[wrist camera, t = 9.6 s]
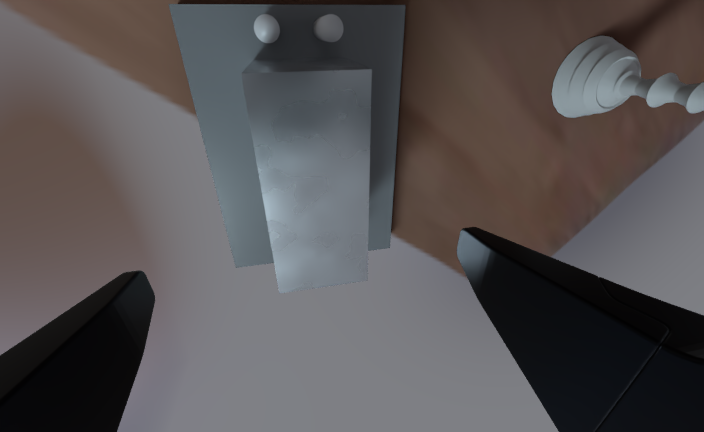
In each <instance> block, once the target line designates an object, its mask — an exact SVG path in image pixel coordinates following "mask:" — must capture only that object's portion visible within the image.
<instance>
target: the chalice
mask: <svg viewBox="0 0 704 432" xmlns="http://www.w3.org/2000/svg"><path fill="white" fill-rule="evenodd" d="M640 76H641V66H640V63H639V60H638V58H637V55H636V54H635V53H634V52H632V51H631V50H628V49H627V48H626V47H624V46H623V45H622V44H619V43H618V42H617V41H616V40H614V39H613V38H612V37H608V36H602V35H601V36H597V37H593V38H590V39H588V40H586V41H584V42H583V43H581V44H579V45H578V46H577V47H576V48H575V49H574V50H573V51H572V52H571V53H570V54H569V55H568V56H567V57H566V59H565V60H564V62H563V63H562V64H561V66H560V67H559V69H558V72H557V74H556V77H555V79H554V82H553V89H552V99H553V105H554V106H555V108H556V110H557V111H558V113H560V114H562V115H563V116H565V117H572V118H576V117H580V116H583V115H591V114H595V113H603V112H607V111H609V110H611V109H613V108H615V107H617V106H619V105H620V104H622V103H623V102H624V101H626V100H627V99H628V98H629V97H630V95H638V96H640V97H643V98H645V99H646V101H647V103H648V105H649V106H650V107H658V106H661V105H663V104H665V103H669V102H677V103H679V104H681V105H683V106H685V108H686V109H687V111H688V112H690V113H697V112H701V111H704V82H702V83H698V84H689V85H686V84H684V83H682V82H680V81H679V79H678V76H677V75H676V74H675V73H668V74H665V75H663V76H661V77H659V78H658V79H647V80H646V79H644V78H641V77H640Z"/></svg>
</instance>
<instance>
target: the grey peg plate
mask: <svg viewBox="0 0 704 432" xmlns="http://www.w3.org/2000/svg"><path fill="white" fill-rule="evenodd" d="M169 8H170V12H171V16H172V20H173V23H174V27H175V31H176V35H177V39H178V43H179V47H180V51H181V55H182V59H183V63H184V67H185V70H186V74H187V78H188V82H189V86H190V90H191V94H192V98H193V102H194V106H195V110H196V114H197V117H198V121H199V125H200V129H201V133H202V137H203V141H204V145H205V149H206V152H207V157H208V161H209V164H210V168H211V172H212V176H213V180H214V184H215V188H216V192H217V196H218V200H219V203H220V207H221V212H222V215H223V219H224V223H225V227H226V231H227V235H228V239H229V243H230V247H231V251H232V255H233V258H234V262H235V266H236V268H237V267H244V266H253V265H260V264H268V263H274V260H273V254H272V249H271V243H270V237H269V231H268V225H267V220H266V214H265V208H264V202H263V197H262V191H261V185H260V179H259V174H258V168H257V162H256V157H255V151H254V145H253V139H252V134H251V128H250V122H249V116H248V111H247V105H246V99H245V94H244V88H243V82H242V76H241V73H242V72H243V71H244V70H245V69H246V68H247V67H248V65H249V64H250V63H251V62H252V61H253V60H271V59H311V58H345V59H348V60H350V61H352V62H355V63H357V64H360V65H362V66H365V67H367V68H370V69H372V82H371V131H370V180H369V229H368V251H369V250H377V249H385V248H390V238H391V223H392V207H393V192H394V176H395V161H396V146H397V130H398V115H399V100H400V84H401V69H402V54H403V38H404V23H405V8H406V5H276V4H169Z"/></svg>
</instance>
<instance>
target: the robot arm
mask: <svg viewBox="0 0 704 432" xmlns="http://www.w3.org/2000/svg"><path fill="white" fill-rule="evenodd" d="M457 256H458V259H459V261H460V263H461V265H462V267H463V269H464V271H465V274H466V276H467V278H468V280H469V282H470V284H471V286H472V288H473V290H474V292H475V294H476V296H477V298H478V300H479V302H480V303H481V305H482V307H483V309H484V310H485V312H486V313H487V315H488V317H489V318H490V320H491V322H492V323H493V325H494V326H495V328H496V330H497V331H498V333H499V335H500V336H501V338H502V339H503V341H504V343H505V344H506V346H507V348H508V349H509V351H510V352H511V354H512V356H513V357H514V359H515V361H516V362H517V364H518V366H519V367H520V369H521V370H522V372H523V374H524V375H525V377H526V379H527V380H528V382H529V384H530V385H531V387H532V388H533V390H534V392H535V393H536V395H537V397H538V398H539V400H540V401H541V403H542V405H543V406H544V408H545V410H546V411H547V413H548V414H549V416H550V418H551V419H552V421H553V423H554V424H555V426H556V428H557V429H558V431H559V432H704V315H701V314H698V313H695V312H692V311H689V310H686V309H684V308H681V307H678V306H675V305H672V304H669V303H667V302H664V301H661V300H658V299H656V298H653V297H650V296H647V295H644V294H642V293H639V292H637V291H634V290H631V289H629V288H626V287H624V286H621V285H619V284H616V283H613V282H611V281H609V280H606V279H604V278H601V277H599V278H598V276H596V275H594V274H591V273H588V272H586V271H584V270H581V269H579V268H576V267H574V266H571V265H569V264H566V263H563V262H561V261H559V260H556V259H554V258H551V257H549V256H546V255H544V254H541V253H539V252H537V251H534V250H532V249H529V248H527V247H524V246H522V245H519V244H517V243H514V242H512V241H509V240H507V239H504V238H502V237H499V236H497V235H494V234H492V233H489V232H487V231H484V230H482V229H479V228H477V227H469V228H463V229H462V230H461V232H460V236H459V242H458V247H457ZM154 303H155V295H154V292H153V290H152V288H151V285H150V283H149V281H148V279H147V277H146V275H145V273H144V272H143V271H131V272H126V273H123V274H121V275H119V276H118V277H117V278H115V279H114V280H112V281H111V282H109V283H108V284H106V285H105V286H103V287H102V288H100V289H99V290H97V291H96V292H94V293H93V294H91V295H90V296H88V297H87V298H85V299H84V300H82V301H81V302H79V303H78V304H76V305H75V306H73V307H72V308H70V309H69V310H68V311H66V312H64V313H63V314H61V315H60V316H58V317H57V318H56V319H54V320H52V321H51V322H49V323H48V324H47V325H45V326H44V327H42V328H41V329H39V330H38V331H36V332H35V333H33V334H32V335H30V336H29V337H27V338H26V339H24V340H23V341H21V342H20V343H18V344H17V345H15V346H14V347H12V348H11V349H9V350H8V351H6V352H5V353H3V354H2V355H0V432H117V430H118V427H119V424H120V421H121V418H122V415H123V412H124V409H125V406H126V404H127V401H128V398H129V395H130V392H131V389H132V386H133V383H134V380H135V377H136V374H137V372H138V369H139V366H140V363H141V360H142V356H143V353H144V349H145V344H146V339H147V335H148V331H149V326H150V322H151V317H152V312H153V308H154Z"/></svg>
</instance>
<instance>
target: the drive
mask: <svg viewBox="0 0 704 432" xmlns="http://www.w3.org/2000/svg"><path fill="white" fill-rule="evenodd" d="M241 76H242V82H243V88H244V94H245V99H246V105H247V111H248V116H249V122H250V128H251V134H252V139H253V145H254V151H255V157H256V162H257V168H258V174H259V179H260V185H261V191H262V197H263V202H264V208H265V214H266V220H267V225H268V231H269V237H270V243H271V249H272V254H273V260H274V265H275V271H276V277H277V282H278V288H279V293H285V292H293V291H299V290H306V289H313V288H320V287H326V286H333V285H341V284H347V283H354V282H361V281H367V278H368V273H367V272H368V229H369V180H370V131H371V82H372V69H370V68H367V67H365V66H362V65H360V64H357V63H355V62H352V61H350V60H348V59H345V58H311V59H271V60H253V61H252V62H251V63H250V64H249V65H248V67H247V68H246V69H245V70H244V71H243V72H242V73H241Z"/></svg>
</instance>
